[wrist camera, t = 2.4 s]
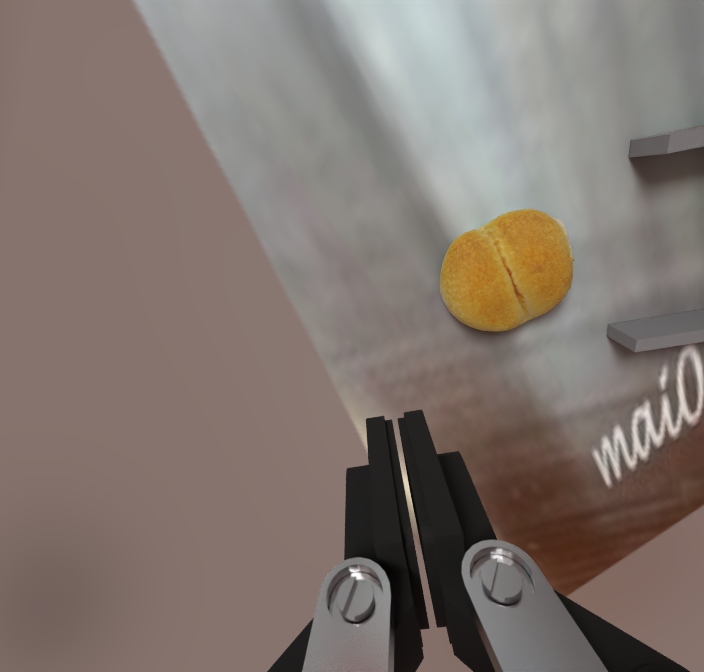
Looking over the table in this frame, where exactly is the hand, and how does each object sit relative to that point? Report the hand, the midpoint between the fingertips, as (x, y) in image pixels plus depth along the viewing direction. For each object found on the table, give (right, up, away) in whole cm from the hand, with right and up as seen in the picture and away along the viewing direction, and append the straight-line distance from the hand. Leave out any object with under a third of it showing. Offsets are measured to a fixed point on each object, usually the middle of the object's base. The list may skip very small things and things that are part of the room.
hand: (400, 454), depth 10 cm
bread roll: (+10, +9, +16) cm, 20 cm away
